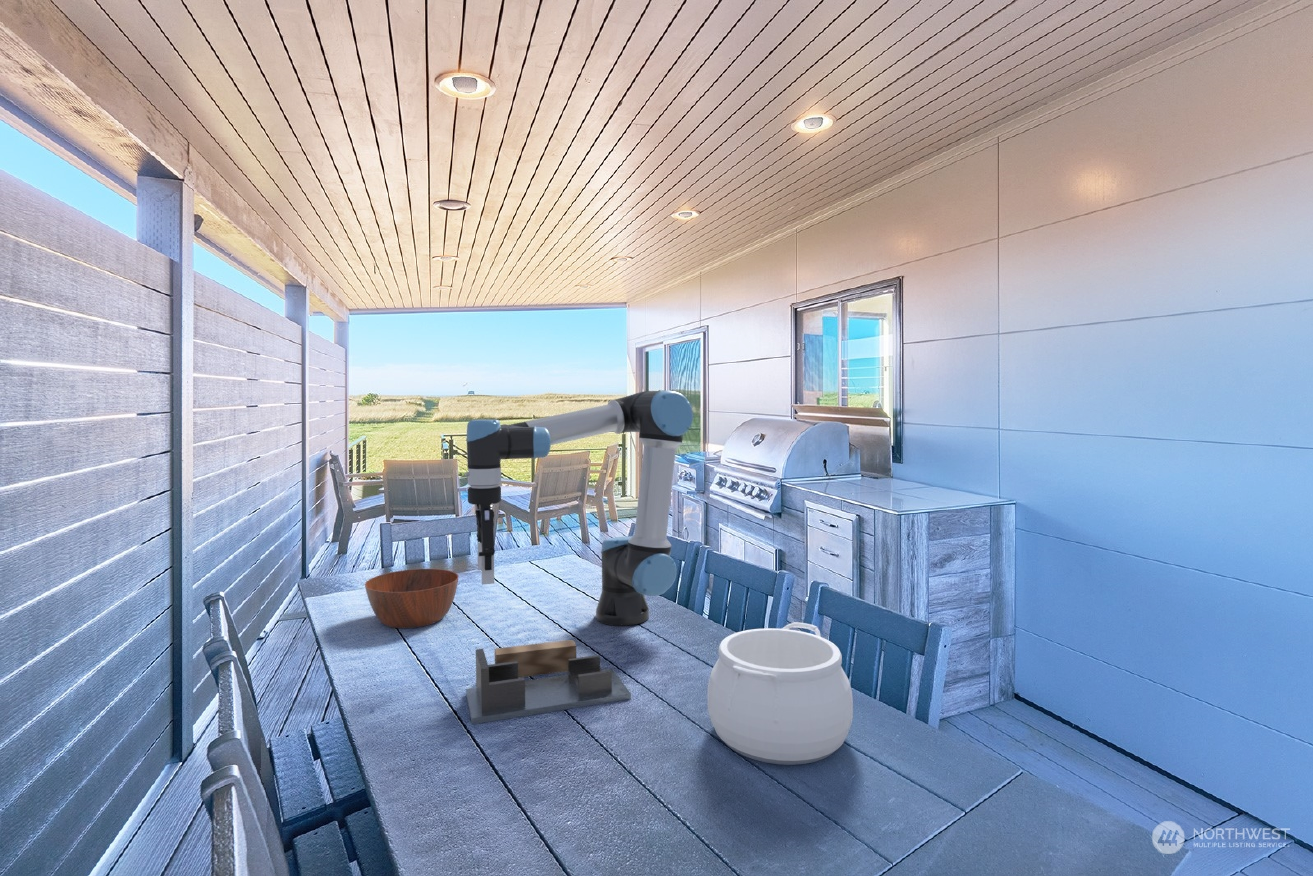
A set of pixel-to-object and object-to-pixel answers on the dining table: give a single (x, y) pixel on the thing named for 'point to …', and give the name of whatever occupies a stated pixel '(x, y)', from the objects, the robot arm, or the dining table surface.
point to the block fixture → (540, 689)
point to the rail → (538, 657)
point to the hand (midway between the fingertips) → (485, 576)
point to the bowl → (412, 596)
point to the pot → (780, 695)
